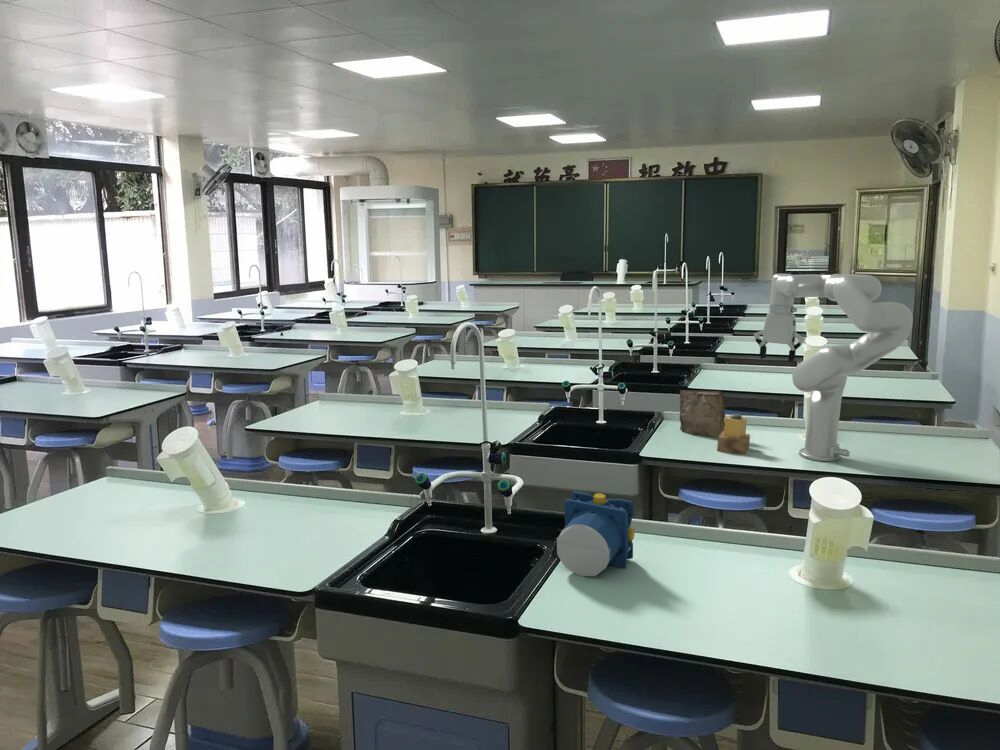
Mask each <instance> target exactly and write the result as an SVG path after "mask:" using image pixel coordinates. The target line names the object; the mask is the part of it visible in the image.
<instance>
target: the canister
mask: <svg viewBox="0 0 1000 750" xmlns="http://www.w3.org/2000/svg"><path fill="white" fill-rule="evenodd" d="M742 416H743V415H742V414H738V413H731V414H730V416H727V417H725V418H724V422H725V427H724V436H728V437H733V438H738V439H739V438H741V437H744V436H746V434H747V433H746V432H747V422H748V421H747V419H748V418H746V417H742Z"/></svg>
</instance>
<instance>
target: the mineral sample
mask: <svg viewBox="0 0 1000 750" xmlns="http://www.w3.org/2000/svg"><path fill="white" fill-rule="evenodd" d="M679 400H680V401H679V402H680V403H679V404H680V405H679V409H680V411H679V423H680V427H679V430H680V431H681V432H682V433H686V434H692V435H693V434H694V435H704V436H708V437H713V438H717V439H718V437H719V435H720V434H721V433H722V431H724V427H725V418H726V412H725V406H724V403H725V401H724V400H725V399H724V392H723V391H720V390H693V389H692V390H691V389H686V390H685V389H684V390H683V389H679Z"/></svg>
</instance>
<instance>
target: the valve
mask: <svg viewBox="0 0 1000 750" xmlns="http://www.w3.org/2000/svg"><path fill="white" fill-rule="evenodd" d="M606 498H607V497H606V495H605V494H604V493H602V492H601V493H597V492H596V493H594V494H593V495H592V494H590V493H588V492H584V491H583V492H581V491H576V490H573V491H572V499H571V498H567V499H566V500H564V503H563V505H564V528H562V530H561V532H560V534H559V536H558V537H557V539H556V555H557V556H558V558H559V559H560V561H561V563H562V564H563V566H564V568H565V569H567V570H568V571H570V572H573V574H576V575H578V576H579V577H596V576H597V575H599V574H600V573H601V572H603V571H604V570H606V569H607V566H610V567H615V568H620V569H627V563H628V560H631V559H633V558H634V543H633V541H634V538H635V534H636V533H635V529H634V528H632V527H631V525H632V521H633V517H634V501H631V500H627V499H622V498H608V499H606Z"/></svg>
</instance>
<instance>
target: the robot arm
mask: <svg viewBox="0 0 1000 750" xmlns="http://www.w3.org/2000/svg"><path fill="white" fill-rule="evenodd" d="M882 289H883V287H882V283H881V282H880V279H879V278H877V277H875V276H873V275H870V274H859V273H858V274H854V273H853V274H851V273H846V274H845V273H833V274H812V273H811V274H807V273H806V274H804V273H803V274H791V273H775V274H773V275H772V277H771V288H770V301H769V312H768V313H766V317H765V322H764V326H763V329H761V330H758V331H757V332H754V333H753V337H754V340H755V342H756V343H757V344H758V346H759V356H760V359H765V358H766V357H767V344H768V343H771V344H780V345H781V344H782V345H787V346H788V347H789V348H790V349H789V351H788V360H787V361H788V362H789V363H793V362H794V360H795V359H796V351H797V350H798V349H799V348H800V347H801V346H802V345H803V343H804V342H805V341H806V338H805V337H803V336H802V335H800V333H797V321H796V315H795V314H794V313H796V312H797V311H798V308H797V307H795V305H794V302H795V301H794V300H795V298H797V299H799V298H800V299H801V298H826V299H828V300H829V301H832V302H836V303H837V305H839V307H840V308H841V310H842V311H843V312H844V313H845V315H846V316H847V318H848V319H849V320H850V321H851V323H852V324H853V325H854V326H855V327H856V328H857V329H858V330H860V331H862V332H866V333H865V334H863V335H862V336H860V337H859V338H858V339H855V340H854V341H852V342H850V343H848V344H841V345H840V344H839V345H829V346H825V347H822V348H821V349H819V350H817V351H816V352H814V353H812V354H811V355H810V356H808V357H807V358H805V359H803V361H801V362H800V363H798V364H797V365H796V366H795V368H794V369H793V371H792V375H791V379H792V383H793V386H794V387H795V388H796V389H797V390H799V391H801V392H805V393H811V395H810V397H809V401H808V409H807V419H806V429H805V439H804V440H805V441H804V447H803V448H800V449H799V452H798V455H799V456H801V457H803V458H805V459H809V460H812V461H813V460H814V461H820V462H837V461H839V460H840V459H841V457H846V458H847V457H848V458H849V457H850V456H851V455H850V453H851V451H850V450H849V449H847V448H842V447H840V443H838V435H839V425H840V414H841V407H842V406H841V405H842V399H843V394H844V390H845V386H846V383H847V379H848V376H854V375H857V374H858V373H860V372H862V371H863V370H865V369H867V368H868V367H870V366H871V365H873V364H875V363H876V362H878V361H879V360H881V359H882V358H884V357H885V356H887V355H889V354H890V353H892V352H894V351H895V350H896V349H897V348H899V347H900V346H901V345H903V343H905V341H906V340H907V339H908V337H909V336H910V333H911V332H912V328H913V323H914V318H913V317H914V316H913V314H912V313H913V312H912V311H911V309H910V308H909V307H908V306H907V305H905V304H904V303H900V302H895V301H885V302H884V301H883V302H881V301H880V302H874V301H875V300H876V299H878V298H879V297H880V296H881V293H882ZM760 335H762V339H761V338H760ZM796 339H797V340H798V342H797V343H795V342H796Z"/></svg>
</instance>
